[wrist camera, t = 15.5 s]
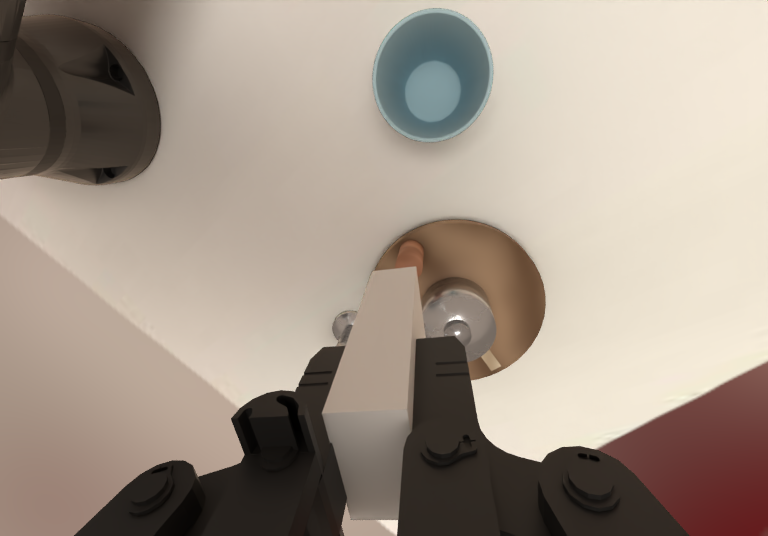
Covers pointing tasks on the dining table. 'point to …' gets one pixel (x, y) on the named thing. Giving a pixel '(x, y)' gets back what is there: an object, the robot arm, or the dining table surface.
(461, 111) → the cup
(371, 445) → the robot arm
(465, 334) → the cover
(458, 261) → the turntable
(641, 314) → the dining table surface
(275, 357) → the dining table surface
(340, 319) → the indicator post
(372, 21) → the dining table surface
